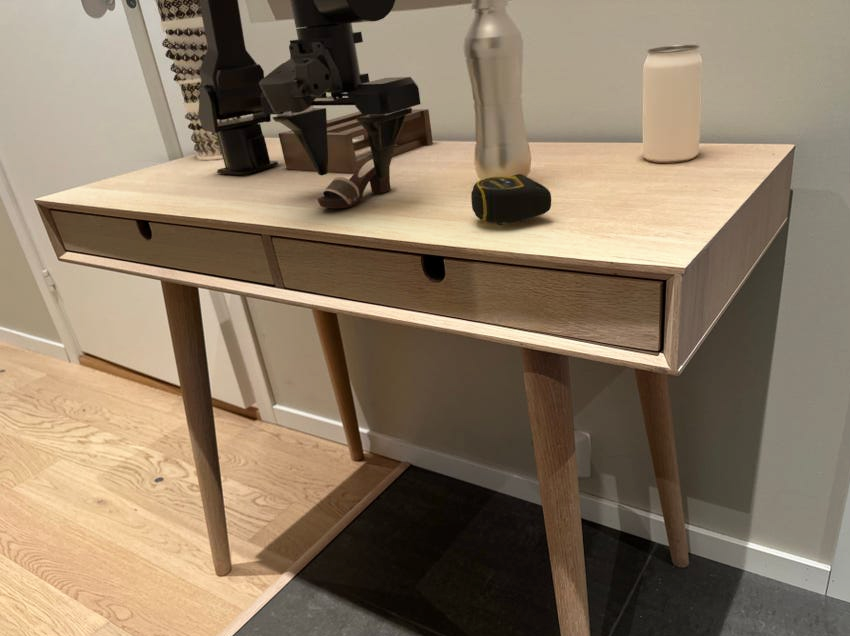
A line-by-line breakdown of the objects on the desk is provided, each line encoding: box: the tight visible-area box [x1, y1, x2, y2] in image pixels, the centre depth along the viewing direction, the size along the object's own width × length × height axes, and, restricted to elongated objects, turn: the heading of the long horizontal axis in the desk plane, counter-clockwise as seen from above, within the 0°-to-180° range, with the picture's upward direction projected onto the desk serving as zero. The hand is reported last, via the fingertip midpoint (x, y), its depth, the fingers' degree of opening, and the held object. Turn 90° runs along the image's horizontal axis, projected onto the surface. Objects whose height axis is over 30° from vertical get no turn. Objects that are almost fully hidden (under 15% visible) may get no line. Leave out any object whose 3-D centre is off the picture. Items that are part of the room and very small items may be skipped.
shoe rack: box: [278, 108, 434, 174], centre depth 103 cm, size 13×18×5 cm
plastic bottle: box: [462, 0, 532, 181], centre depth 76 cm, size 6×7×20 cm
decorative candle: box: [155, 0, 242, 161], centre depth 112 cm, size 9×9×25 cm
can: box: [642, 44, 703, 164], centre depth 81 cm, size 6×6×12 cm
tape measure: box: [470, 174, 552, 226], centre depth 67 cm, size 7×7×4 cm
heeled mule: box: [317, 159, 392, 209], centre depth 80 cm, size 4×11×4 cm, turn 141°
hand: (352, 176), depth 80 cm, fingers open, 9 cm apart
